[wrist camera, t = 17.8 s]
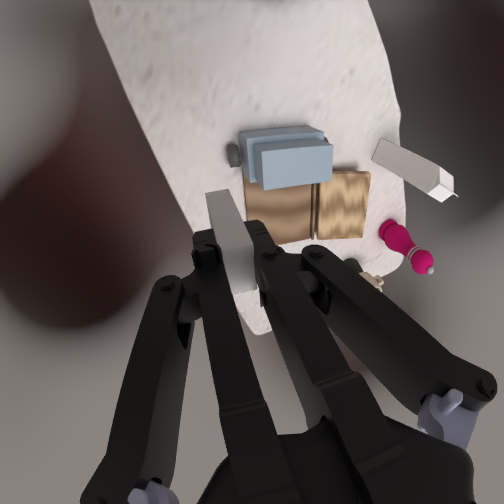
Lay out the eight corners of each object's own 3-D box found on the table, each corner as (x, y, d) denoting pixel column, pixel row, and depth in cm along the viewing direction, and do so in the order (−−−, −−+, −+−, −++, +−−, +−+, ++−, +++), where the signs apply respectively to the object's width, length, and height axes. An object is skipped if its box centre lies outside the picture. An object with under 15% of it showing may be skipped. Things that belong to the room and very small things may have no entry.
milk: (387, 168, 59) (452, 210, 42) (370, 160, 57) (438, 202, 40) (396, 146, 56) (465, 183, 39) (380, 137, 54) (452, 173, 37)
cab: (225, 134, 47) (237, 147, 38) (320, 125, 50) (351, 138, 41) (229, 173, 52) (242, 197, 43) (319, 162, 55) (348, 181, 46)
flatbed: (242, 171, 52) (244, 174, 51) (312, 162, 55) (316, 165, 53) (249, 247, 63) (251, 252, 61) (310, 235, 65) (313, 239, 64)
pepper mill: (374, 242, 72) (418, 287, 56) (379, 219, 68) (427, 263, 52) (393, 237, 73) (436, 280, 57) (398, 216, 69) (446, 257, 53)
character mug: (333, 283, 77) (354, 315, 67) (328, 267, 73) (351, 299, 62) (364, 265, 77) (388, 295, 66) (361, 248, 72) (388, 278, 62)
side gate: (321, 173, 53) (370, 174, 53) (319, 171, 54) (368, 171, 54) (317, 240, 62) (362, 237, 62) (316, 235, 64) (360, 233, 63)
